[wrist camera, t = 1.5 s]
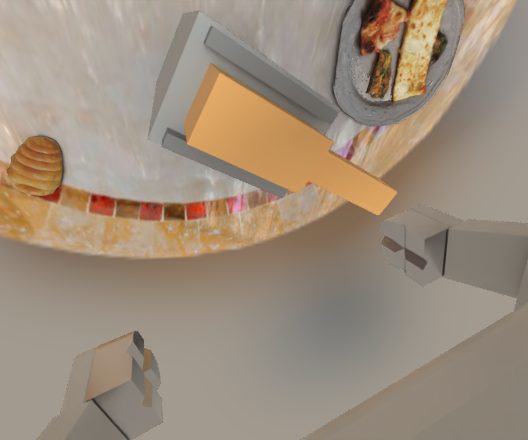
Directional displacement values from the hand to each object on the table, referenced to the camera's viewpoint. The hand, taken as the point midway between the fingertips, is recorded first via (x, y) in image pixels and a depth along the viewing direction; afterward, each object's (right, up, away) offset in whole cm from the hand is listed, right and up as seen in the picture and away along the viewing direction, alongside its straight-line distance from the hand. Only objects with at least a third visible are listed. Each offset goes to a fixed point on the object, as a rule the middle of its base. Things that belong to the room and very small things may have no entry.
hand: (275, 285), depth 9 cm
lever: (+3, +9, +19) cm, 21 cm away
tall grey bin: (-8, +25, +37) cm, 45 cm away
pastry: (-36, +11, +38) cm, 53 cm away
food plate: (+22, +32, +43) cm, 58 cm away
